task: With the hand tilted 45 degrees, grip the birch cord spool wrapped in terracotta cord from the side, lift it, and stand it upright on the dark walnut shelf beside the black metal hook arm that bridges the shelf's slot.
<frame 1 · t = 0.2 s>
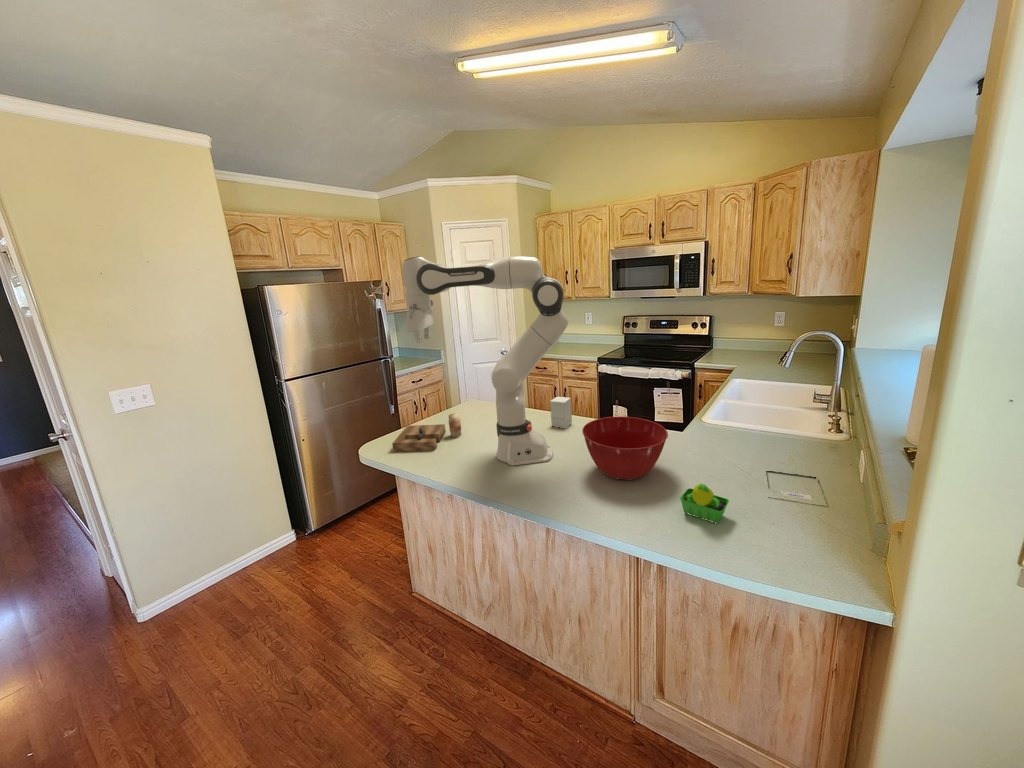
hand: (423, 340, 158), 48 cm above the countertop, tool pointing down, fingers open, 8 cm apart
mixing bowl: (624, 471, 148), on the countertop
cord spool: (456, 436, 191), on the countertop
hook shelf: (420, 441, 188), on the countertop
photo frame: (793, 489, 131), on the countertop
fruit basket: (702, 516, 120), on the countertop
supplement box: (561, 425, 194), on the countertop
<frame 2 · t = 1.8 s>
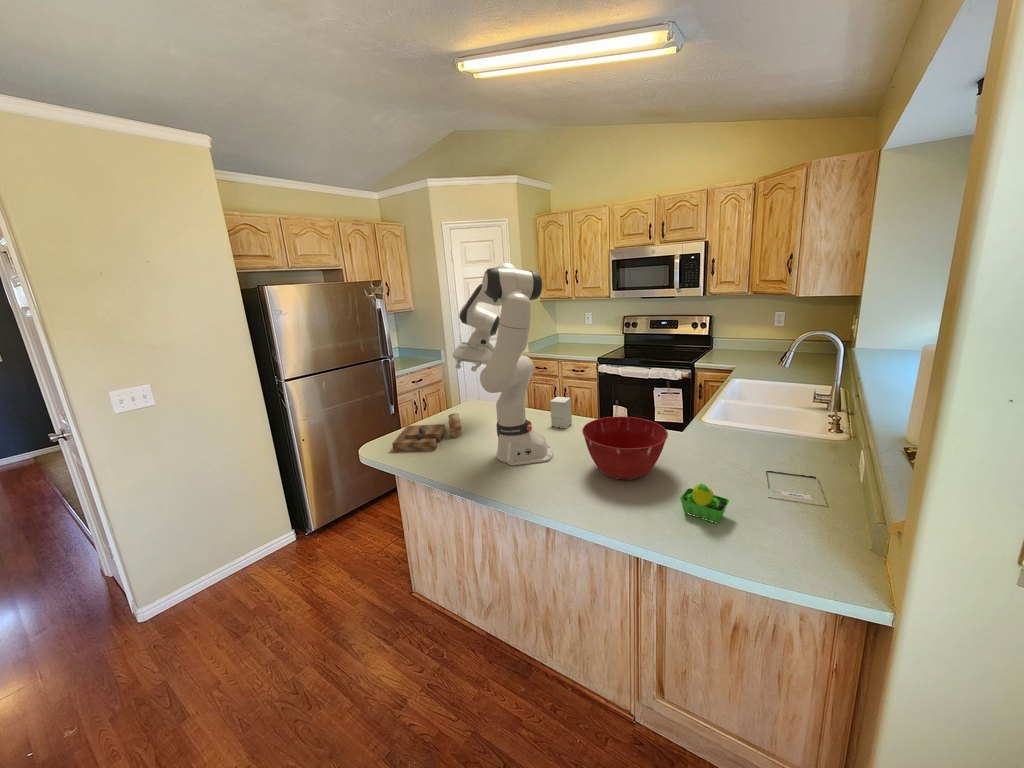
hand: (465, 369, 191), 29 cm above the countertop, tool tilted 45°, fingers open, 8 cm apart
nothing on the countertop moved.
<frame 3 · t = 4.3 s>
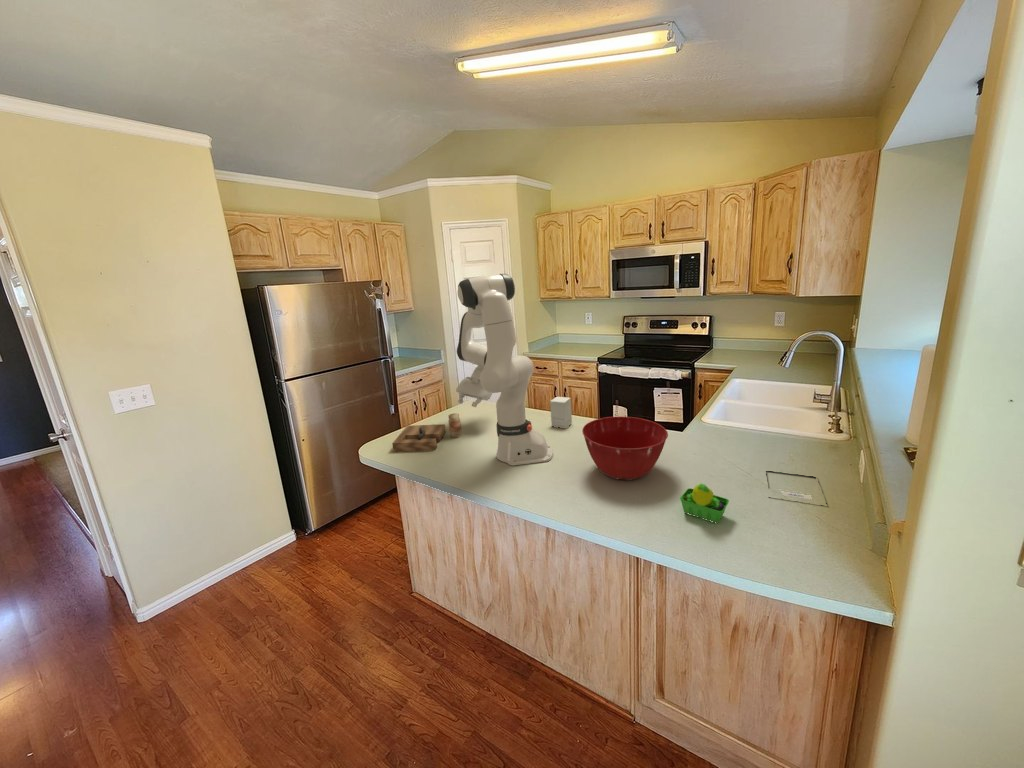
hand: (466, 404, 193), 13 cm above the countertop, tool tilted 45°, fingers open, 8 cm apart
nothing on the countertop moved.
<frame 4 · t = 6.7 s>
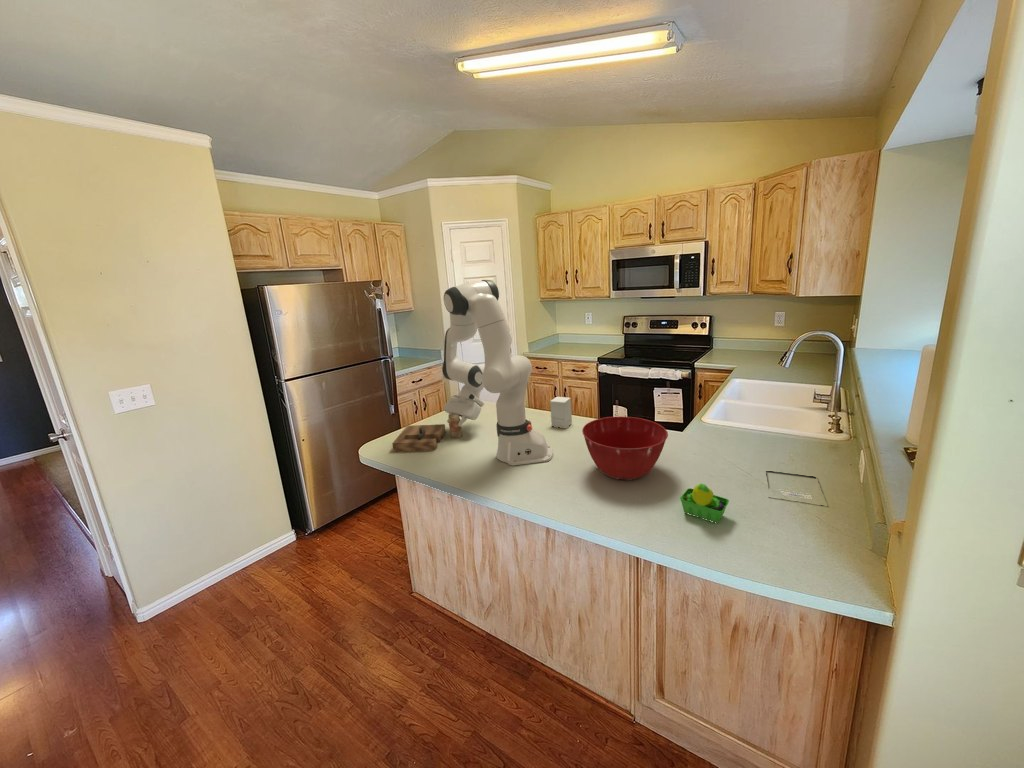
hand: (453, 424, 189), 6 cm above the countertop, tool tilted 45°, fingers closed on cord spool, 5 cm apart
cord spool: (456, 436, 191), on the countertop, touching gripper
everything else where it was.
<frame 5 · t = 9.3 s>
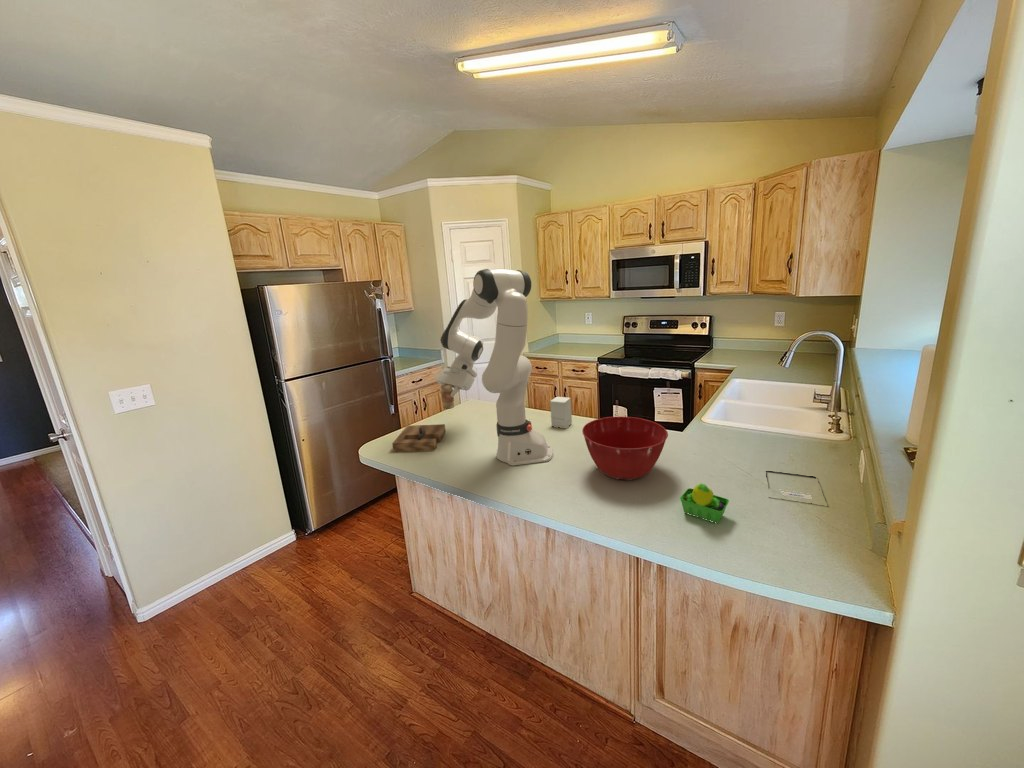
hand: (446, 395, 186), 20 cm above the countertop, tool tilted 45°, fingers closed on cord spool, 5 cm apart
cord spool: (448, 407, 188), point 14 cm above the countertop, touching gripper
everything else where it was.
when the fingers open (10 cm above the countertop, at t = 12.2 s): cord spool stays where it is, resting on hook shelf.
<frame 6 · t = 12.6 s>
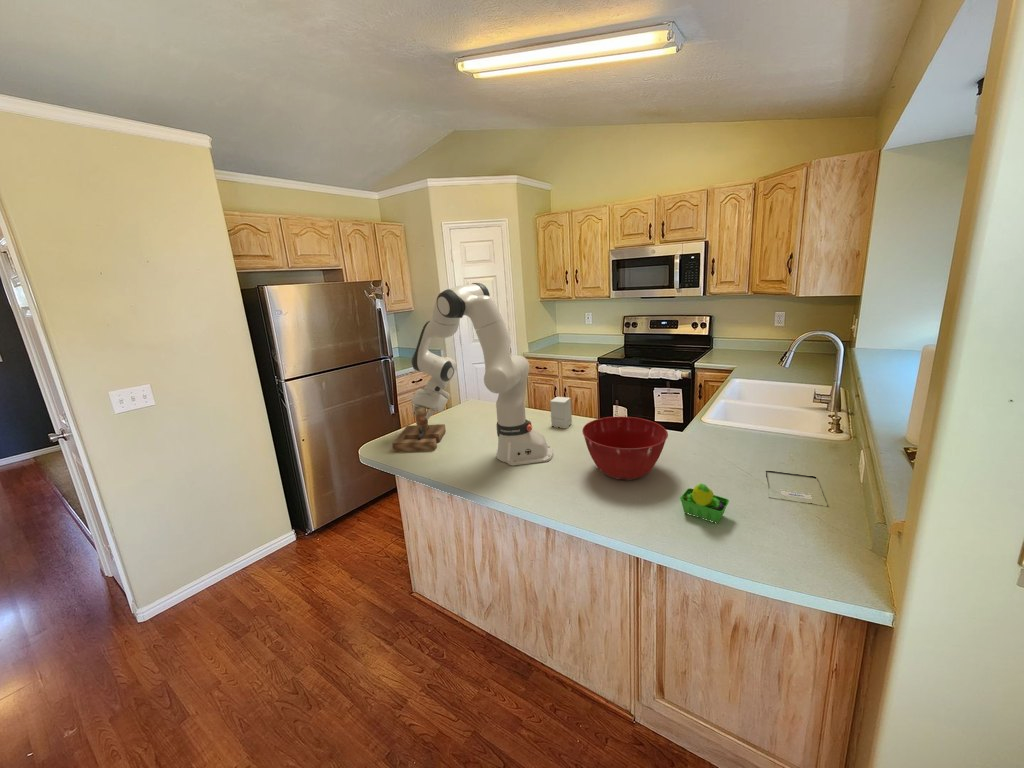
hand: (419, 416, 189), 10 cm above the countertop, tool tilted 45°, fingers open, 8 cm apart
cord spool: (423, 429, 191), point 4 cm above the countertop, touching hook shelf
everything else where it was.
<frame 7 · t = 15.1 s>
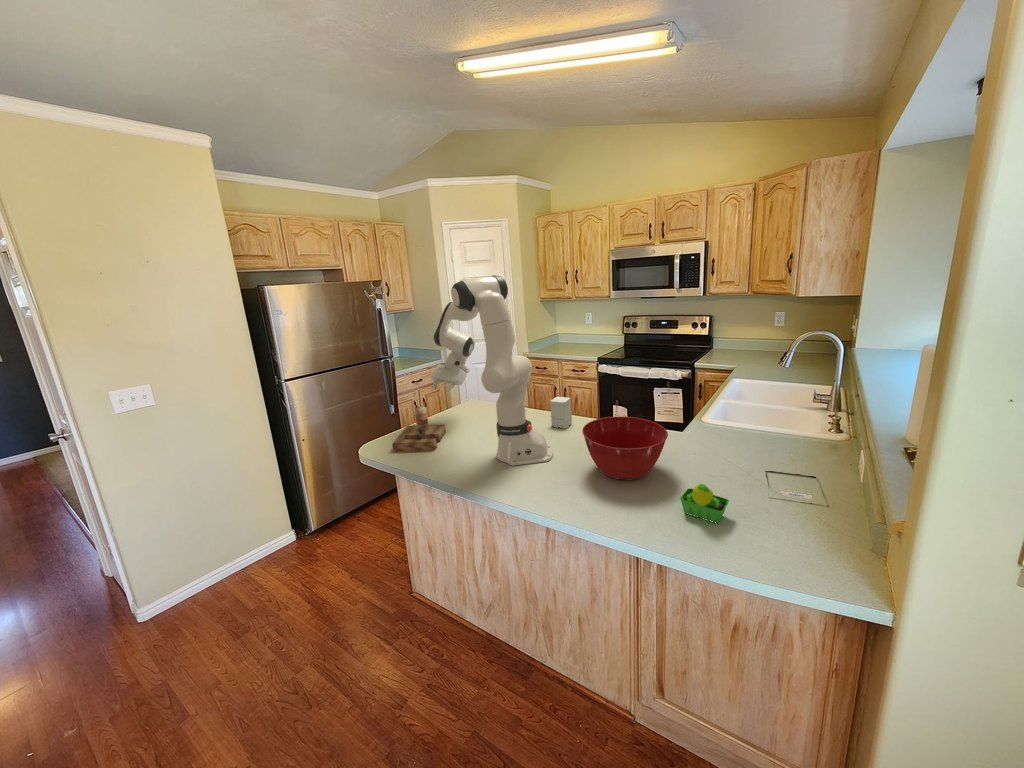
hand: (440, 389, 196), 19 cm above the countertop, tool tilted 45°, fingers open, 8 cm apart
nothing on the countertop moved.
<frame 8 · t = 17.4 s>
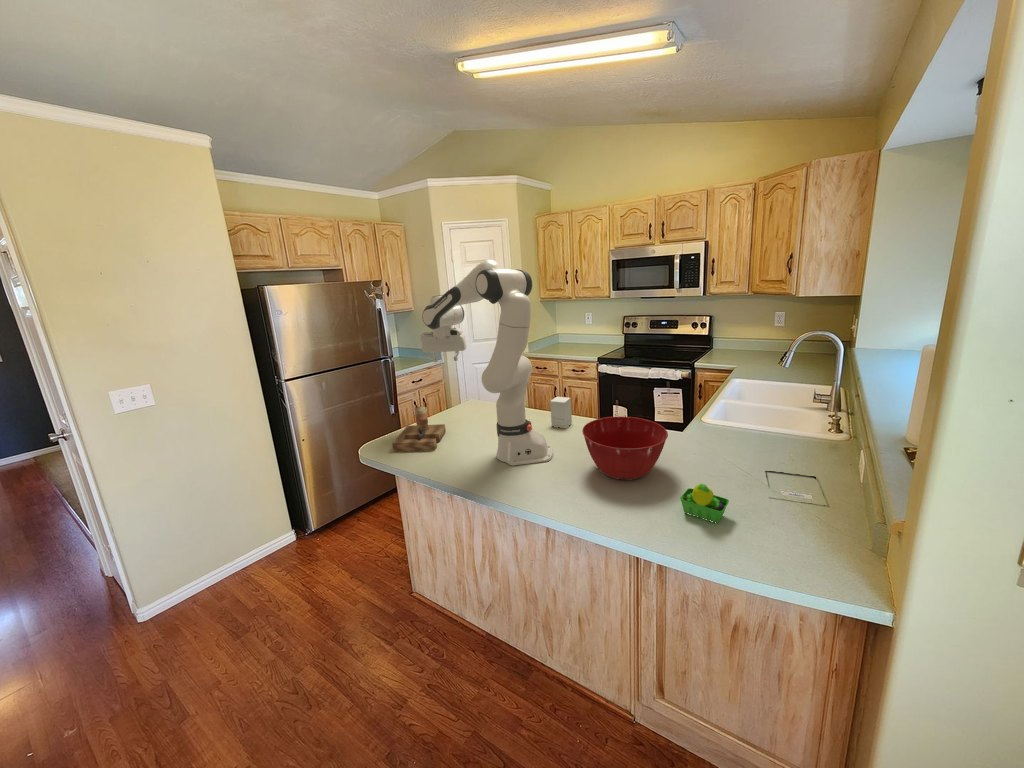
hand: (445, 361, 195), 32 cm above the countertop, tool pointing down, fingers open, 8 cm apart
nothing on the countertop moved.
at the end: cord spool inside the target area on the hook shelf (0.1 cm from its centre), point 4.0 cm above the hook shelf's base; cord spool tilted 0°; the gripper is holding nothing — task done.
